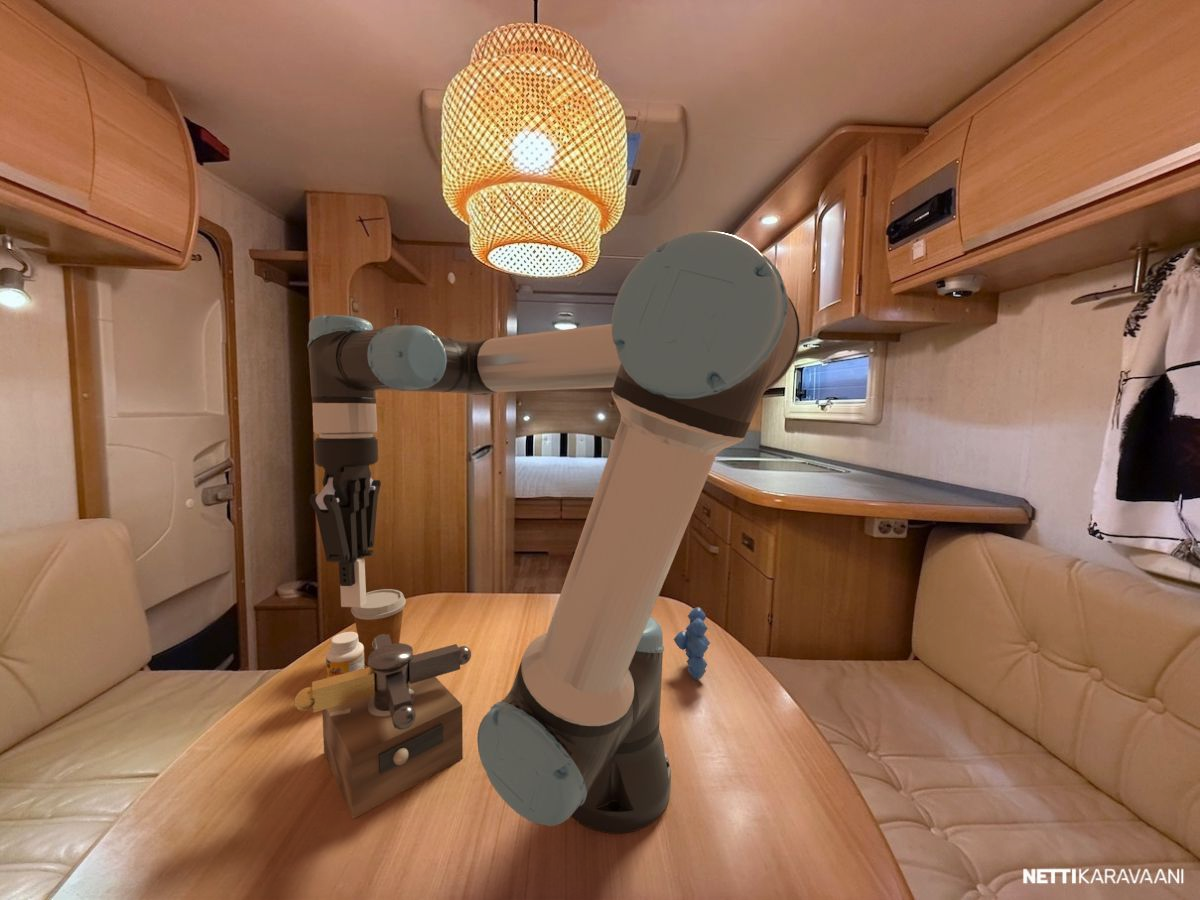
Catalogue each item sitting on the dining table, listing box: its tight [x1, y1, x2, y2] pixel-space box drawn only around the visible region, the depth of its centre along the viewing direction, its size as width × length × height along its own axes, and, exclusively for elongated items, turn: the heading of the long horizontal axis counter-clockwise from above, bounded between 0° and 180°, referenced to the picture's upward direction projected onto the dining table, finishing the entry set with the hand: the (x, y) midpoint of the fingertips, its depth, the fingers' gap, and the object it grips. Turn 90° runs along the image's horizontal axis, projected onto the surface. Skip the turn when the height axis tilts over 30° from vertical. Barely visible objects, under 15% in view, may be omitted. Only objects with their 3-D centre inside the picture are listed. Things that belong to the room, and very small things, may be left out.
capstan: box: [294, 634, 472, 730], centre depth 63 cm, size 22×22×7 cm
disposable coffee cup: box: [350, 588, 407, 667], centre depth 87 cm, size 10×10×12 cm
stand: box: [321, 676, 464, 820], centre depth 63 cm, size 16×14×8 cm
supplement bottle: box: [325, 631, 365, 678], centre depth 76 cm, size 6×6×10 cm
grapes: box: [673, 606, 711, 681], centre depth 85 cm, size 12×7×12 cm, turn 172°
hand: (353, 604), depth 63 cm, fingers closed
